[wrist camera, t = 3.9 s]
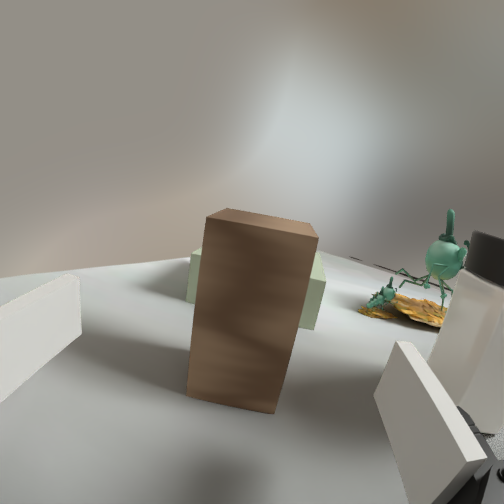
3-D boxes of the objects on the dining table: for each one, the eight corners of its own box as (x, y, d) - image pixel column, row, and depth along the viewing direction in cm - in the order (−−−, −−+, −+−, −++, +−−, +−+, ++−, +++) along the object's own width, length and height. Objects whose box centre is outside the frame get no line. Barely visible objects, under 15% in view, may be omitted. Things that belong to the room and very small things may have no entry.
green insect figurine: (346, 292, 40) (383, 185, 37) (452, 325, 39) (488, 231, 35) (358, 321, 31) (406, 184, 28) (480, 355, 29) (526, 242, 26)
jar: (522, 422, 14) (588, 271, 11) (460, 450, 12) (550, 255, 10) (463, 368, 22) (507, 240, 20) (397, 375, 21) (447, 221, 18)
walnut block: (277, 367, 21) (309, 223, 18) (274, 414, 16) (318, 237, 14) (205, 353, 21) (226, 208, 19) (186, 395, 16) (206, 217, 14)
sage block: (310, 291, 39) (319, 252, 38) (312, 333, 28) (326, 281, 26) (218, 271, 41) (224, 233, 39) (185, 304, 29) (191, 253, 28)
